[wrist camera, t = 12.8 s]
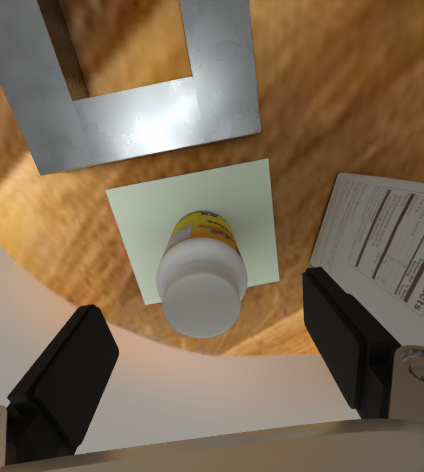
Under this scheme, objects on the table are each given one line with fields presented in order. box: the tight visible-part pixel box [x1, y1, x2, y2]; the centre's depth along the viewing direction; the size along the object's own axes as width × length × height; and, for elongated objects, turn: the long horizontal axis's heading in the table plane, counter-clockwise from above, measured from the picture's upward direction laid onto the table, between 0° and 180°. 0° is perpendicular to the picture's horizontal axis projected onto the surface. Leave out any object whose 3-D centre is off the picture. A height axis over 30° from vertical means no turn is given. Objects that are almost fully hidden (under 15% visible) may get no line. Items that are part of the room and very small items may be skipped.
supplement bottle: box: [156, 211, 247, 338], centre depth 16 cm, size 6×6×10 cm
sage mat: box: [105, 158, 279, 305], centre depth 21 cm, size 14×12×1 cm
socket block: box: [0, 0, 261, 175], centre depth 14 cm, size 16×16×3 cm
